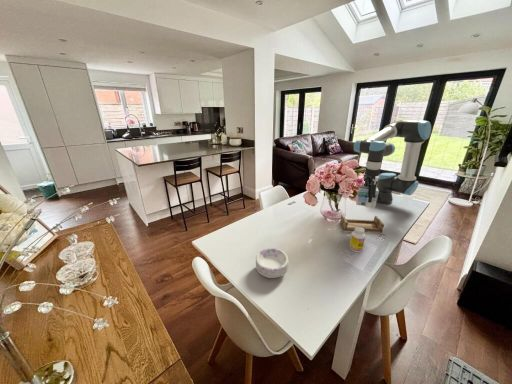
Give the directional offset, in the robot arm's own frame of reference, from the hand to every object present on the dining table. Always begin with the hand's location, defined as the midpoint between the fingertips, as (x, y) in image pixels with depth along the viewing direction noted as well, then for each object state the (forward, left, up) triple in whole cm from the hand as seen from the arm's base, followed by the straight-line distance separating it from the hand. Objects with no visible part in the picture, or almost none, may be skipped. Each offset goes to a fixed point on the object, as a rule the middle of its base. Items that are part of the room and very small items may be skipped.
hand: (365, 203), depth 130 cm
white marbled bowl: (+46, -55, -17) cm, 74 cm away
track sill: (0, 0, -17) cm, 17 cm away
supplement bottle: (+24, -10, -17) cm, 31 cm away
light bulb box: (0, 0, 0) cm, 0 cm away
